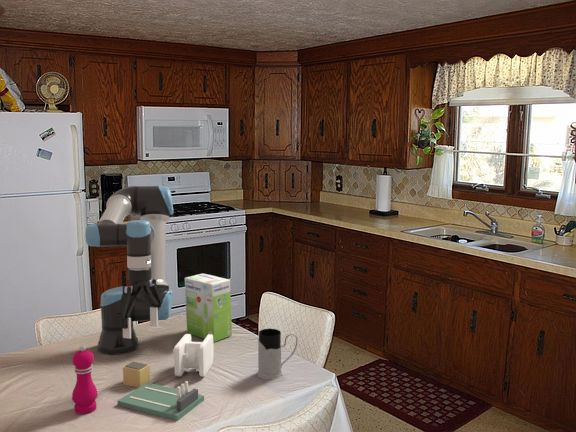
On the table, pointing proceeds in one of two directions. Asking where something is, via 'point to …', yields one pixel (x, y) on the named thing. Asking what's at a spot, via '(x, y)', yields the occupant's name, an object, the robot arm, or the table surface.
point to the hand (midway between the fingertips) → (141, 332)
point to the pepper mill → (84, 382)
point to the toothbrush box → (208, 306)
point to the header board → (162, 400)
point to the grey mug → (270, 353)
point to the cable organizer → (193, 355)
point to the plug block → (136, 374)
